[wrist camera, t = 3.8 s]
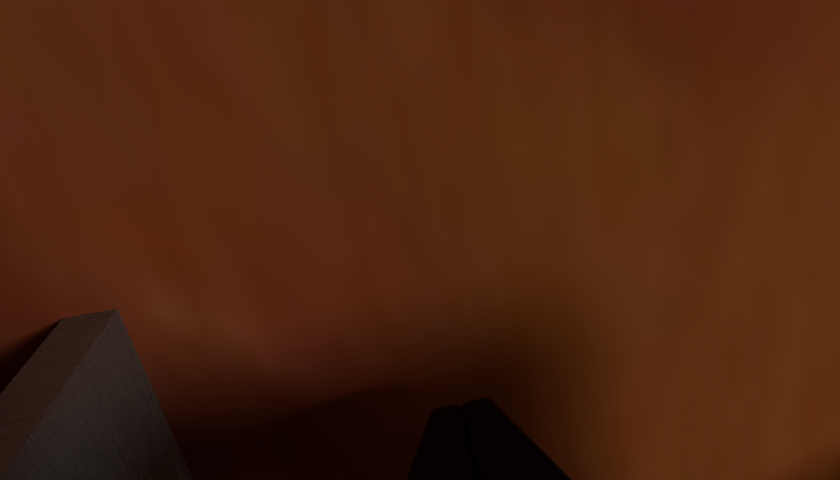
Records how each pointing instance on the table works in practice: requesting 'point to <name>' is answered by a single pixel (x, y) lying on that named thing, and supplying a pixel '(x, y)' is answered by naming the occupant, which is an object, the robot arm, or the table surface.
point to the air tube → (86, 410)
